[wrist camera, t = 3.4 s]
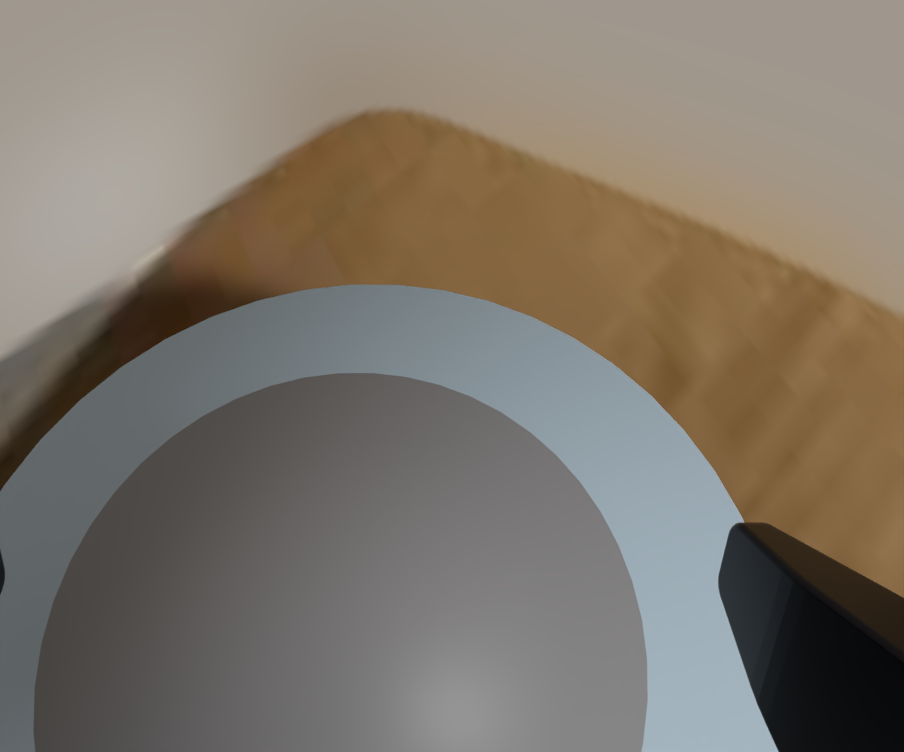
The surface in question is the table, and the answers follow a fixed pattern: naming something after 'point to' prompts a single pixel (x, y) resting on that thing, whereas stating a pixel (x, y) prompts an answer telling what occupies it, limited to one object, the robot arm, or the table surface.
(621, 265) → the table surface
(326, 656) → the lid
